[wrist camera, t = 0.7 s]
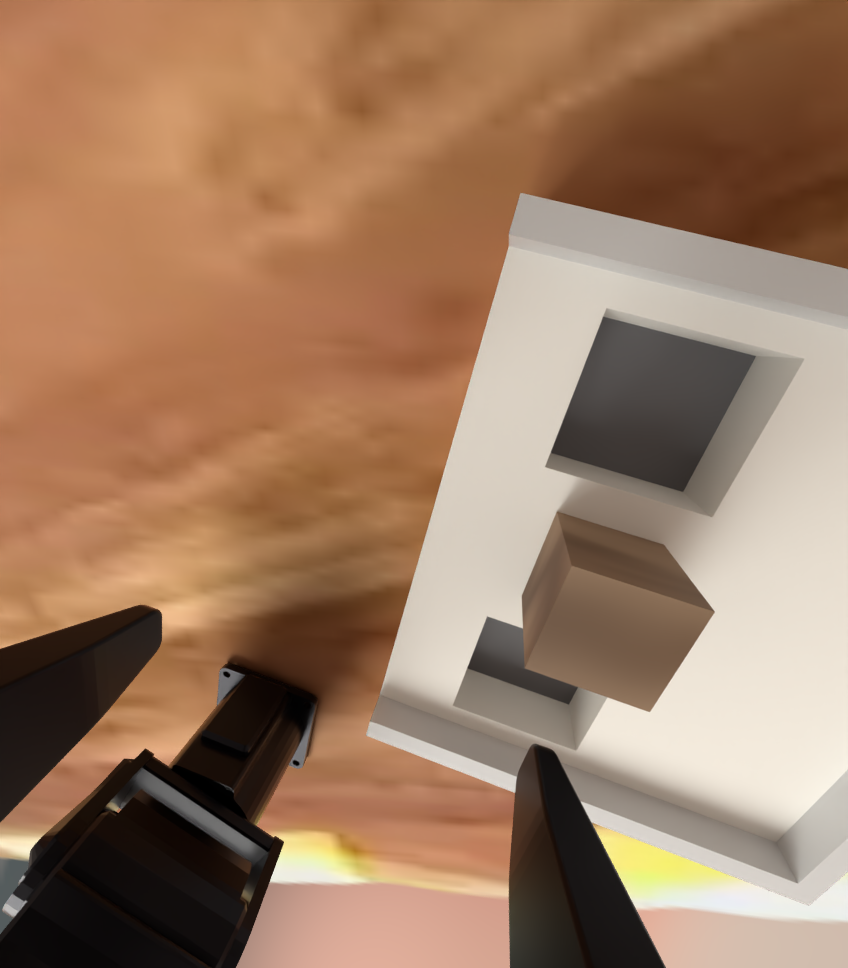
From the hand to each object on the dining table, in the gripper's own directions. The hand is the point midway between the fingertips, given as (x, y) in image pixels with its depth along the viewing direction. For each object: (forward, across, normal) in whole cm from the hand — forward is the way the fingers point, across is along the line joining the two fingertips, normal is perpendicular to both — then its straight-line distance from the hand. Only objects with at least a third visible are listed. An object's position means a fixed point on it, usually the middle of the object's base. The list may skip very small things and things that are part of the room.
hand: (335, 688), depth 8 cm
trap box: (+12, -10, 0) cm, 16 cm away
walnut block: (+9, -7, 0) cm, 11 cm away
